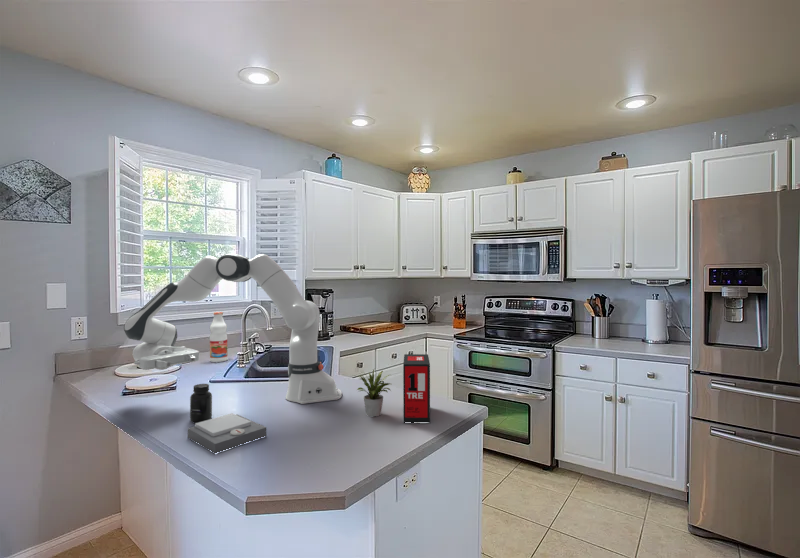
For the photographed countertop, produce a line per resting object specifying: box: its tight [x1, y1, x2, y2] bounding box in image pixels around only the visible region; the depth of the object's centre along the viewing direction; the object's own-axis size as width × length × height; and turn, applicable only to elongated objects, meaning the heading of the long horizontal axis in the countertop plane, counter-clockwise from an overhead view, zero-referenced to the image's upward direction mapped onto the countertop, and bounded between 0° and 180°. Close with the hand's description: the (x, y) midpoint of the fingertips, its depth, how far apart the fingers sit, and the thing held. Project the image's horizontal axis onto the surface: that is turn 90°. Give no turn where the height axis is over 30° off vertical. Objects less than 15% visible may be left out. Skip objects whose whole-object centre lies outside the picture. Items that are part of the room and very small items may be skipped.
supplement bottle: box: [189, 383, 213, 424], centre depth 141 cm, size 7×7×12 cm
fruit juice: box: [209, 311, 229, 363], centre depth 236 cm, size 9×9×28 cm
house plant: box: [351, 369, 392, 417], centre depth 145 cm, size 14×14×16 cm
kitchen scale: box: [187, 412, 267, 454], centre depth 126 cm, size 16×18×4 cm
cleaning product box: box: [402, 353, 431, 424], centre depth 146 cm, size 16×9×20 cm, turn 178°
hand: (181, 362), depth 148 cm, fingers open, 8 cm apart
